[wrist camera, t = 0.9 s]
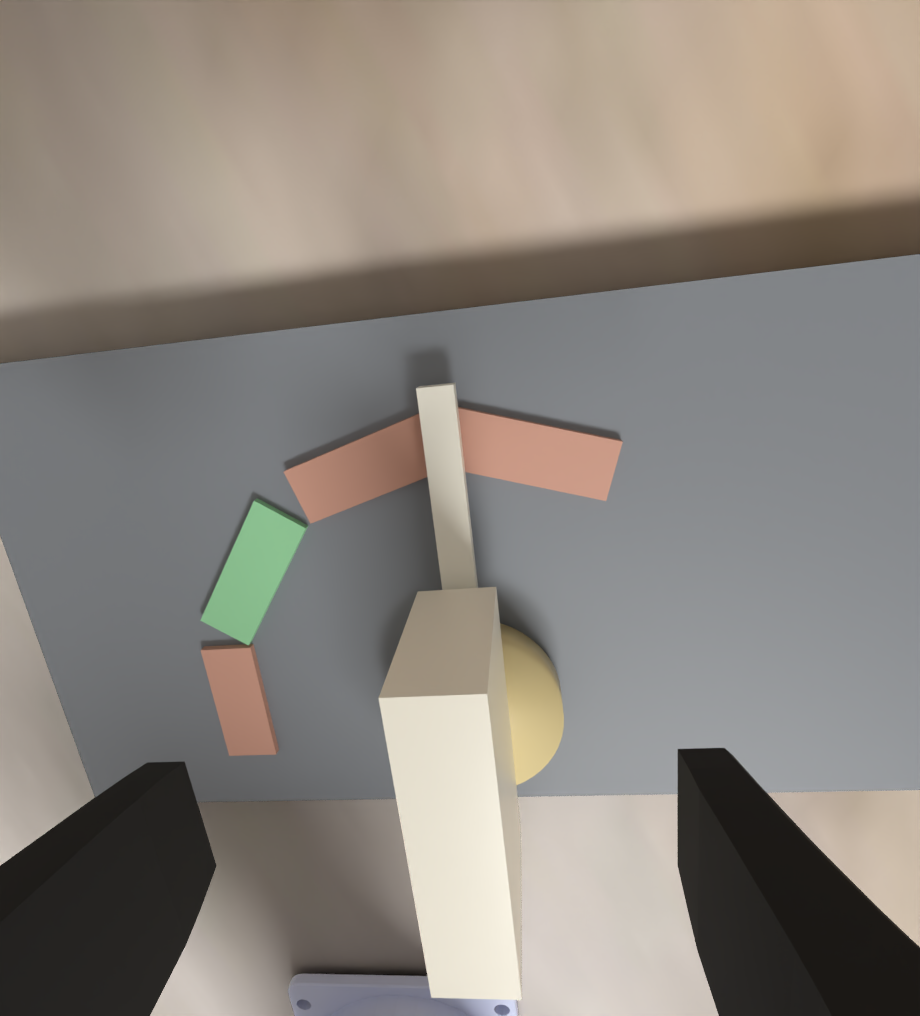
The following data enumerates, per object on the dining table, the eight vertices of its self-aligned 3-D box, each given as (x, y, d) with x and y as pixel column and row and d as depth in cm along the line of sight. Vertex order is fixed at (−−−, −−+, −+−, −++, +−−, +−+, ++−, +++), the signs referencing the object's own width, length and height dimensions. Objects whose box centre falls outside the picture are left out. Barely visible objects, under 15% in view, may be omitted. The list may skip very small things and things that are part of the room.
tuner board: (925, 756, 16) (961, 795, 15) (122, 775, 19) (93, 809, 18) (1000, 245, 13) (1058, 237, 11) (-17, 366, 15) (-68, 371, 14)
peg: (568, 801, 16) (588, 1001, 12) (411, 803, 17) (368, 996, 12) (538, 372, 13) (550, 407, 8) (341, 393, 13) (244, 436, 9)
